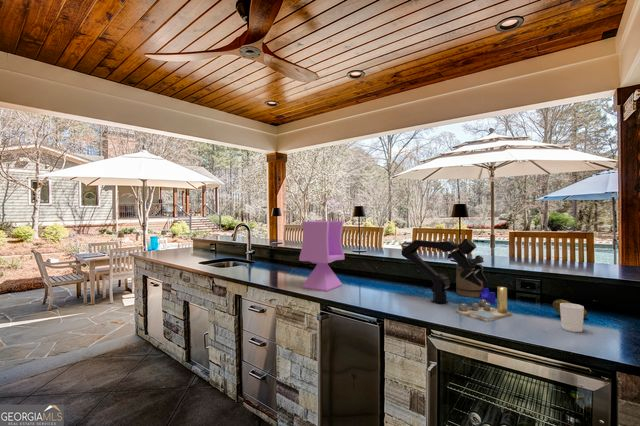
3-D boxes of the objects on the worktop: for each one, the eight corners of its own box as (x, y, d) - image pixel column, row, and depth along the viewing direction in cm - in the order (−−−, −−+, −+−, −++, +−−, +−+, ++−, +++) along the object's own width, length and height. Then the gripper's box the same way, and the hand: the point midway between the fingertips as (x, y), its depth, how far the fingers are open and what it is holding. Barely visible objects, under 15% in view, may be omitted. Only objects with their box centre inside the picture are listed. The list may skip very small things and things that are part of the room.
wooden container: (484, 293, 193) (483, 257, 193) (481, 298, 180) (481, 260, 181) (458, 290, 201) (457, 256, 201) (454, 295, 188) (453, 259, 189)
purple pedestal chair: (327, 292, 197) (327, 221, 197) (299, 288, 209) (299, 221, 210) (344, 285, 216) (344, 221, 216) (317, 282, 228) (317, 220, 228)
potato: (589, 322, 139) (588, 304, 139) (553, 317, 146) (552, 300, 147) (586, 317, 146) (586, 300, 146) (552, 312, 153) (552, 296, 153)
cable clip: (479, 297, 183) (479, 287, 183) (487, 298, 182) (487, 287, 182) (486, 303, 171) (486, 292, 171) (495, 303, 170) (495, 292, 170)
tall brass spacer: (495, 311, 152) (495, 287, 152) (500, 310, 154) (500, 286, 154) (503, 314, 148) (503, 288, 149) (508, 312, 150) (508, 288, 150)
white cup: (555, 326, 135) (555, 303, 135) (572, 325, 135) (571, 302, 135) (571, 333, 127) (571, 308, 127) (589, 332, 127) (589, 307, 128)
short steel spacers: (458, 310, 155) (458, 303, 155) (481, 305, 163) (481, 298, 163) (473, 314, 148) (473, 307, 148) (496, 309, 156) (496, 302, 156)
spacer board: (455, 312, 155) (455, 310, 155) (481, 306, 164) (481, 304, 164) (486, 322, 140) (486, 319, 140) (512, 315, 150) (512, 313, 150)
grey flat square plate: (471, 314, 148) (471, 313, 148) (482, 312, 152) (482, 310, 152) (487, 319, 141) (487, 318, 141) (498, 316, 145) (498, 315, 145)
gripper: (466, 251, 154) (490, 277, 146) (479, 249, 167) (502, 272, 160) (450, 265, 160) (473, 291, 152) (464, 261, 173) (485, 285, 165)
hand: (484, 284), depth 157 cm, fingers open, 9 cm apart
